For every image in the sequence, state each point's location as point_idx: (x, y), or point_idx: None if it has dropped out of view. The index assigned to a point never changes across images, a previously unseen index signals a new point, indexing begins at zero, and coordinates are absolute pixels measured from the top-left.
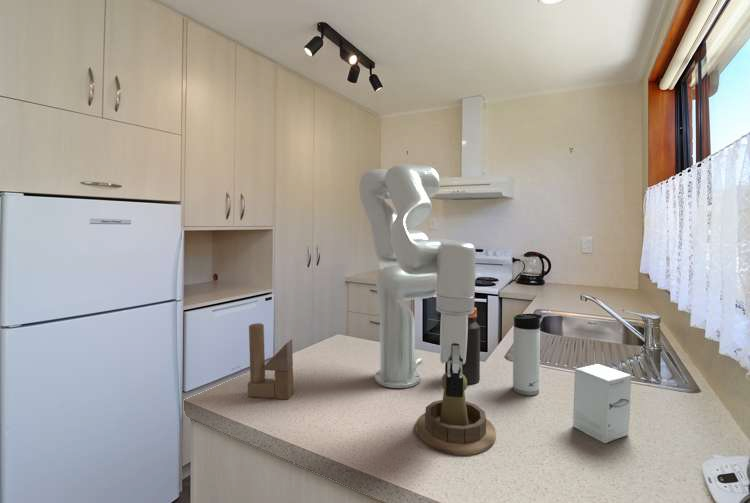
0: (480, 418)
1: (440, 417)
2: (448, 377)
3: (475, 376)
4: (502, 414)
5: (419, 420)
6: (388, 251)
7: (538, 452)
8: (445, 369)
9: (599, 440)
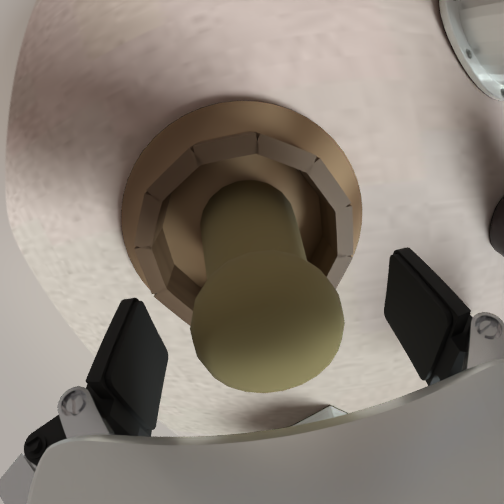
0: None
1: (235, 193)
2: (76, 390)
3: (501, 251)
4: (364, 318)
5: (245, 109)
6: None
7: None
8: (410, 266)
9: (293, 425)
